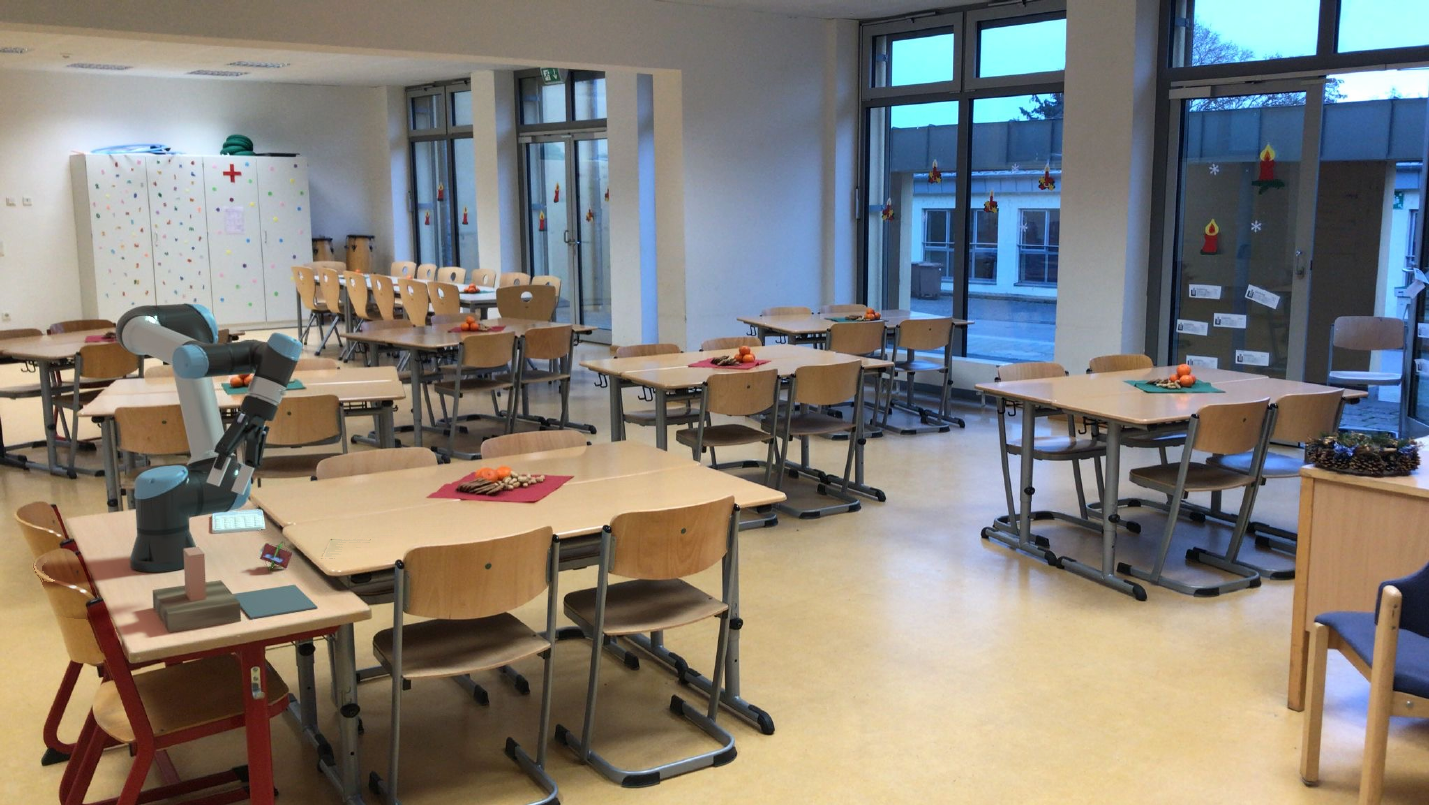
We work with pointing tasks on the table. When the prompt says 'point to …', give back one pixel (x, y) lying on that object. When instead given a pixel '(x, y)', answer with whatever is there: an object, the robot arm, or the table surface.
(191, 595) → the salmon pink brick
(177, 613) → the brown flat block
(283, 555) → the geometric puzzle
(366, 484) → the table surface
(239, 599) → the mat
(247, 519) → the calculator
